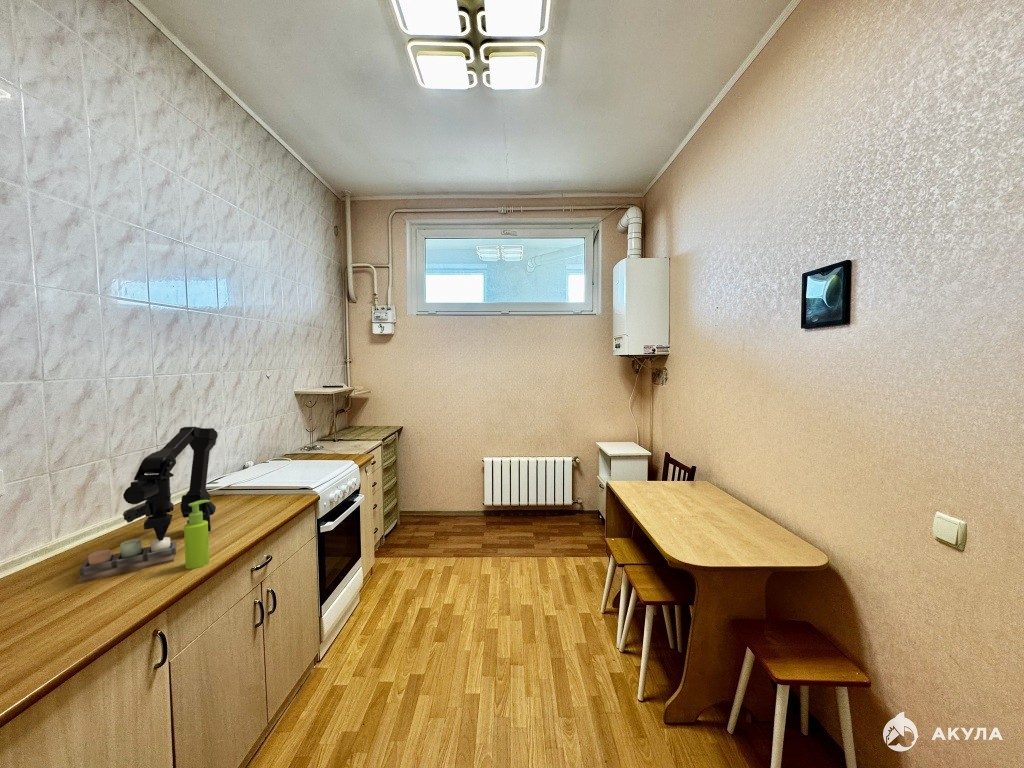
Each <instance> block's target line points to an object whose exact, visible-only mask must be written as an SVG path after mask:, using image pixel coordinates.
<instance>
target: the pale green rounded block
mask: <svg viewBox="0 0 1024 768" xmlns="http://www.w3.org/2000/svg"><path fill="white" fill-rule="evenodd" d="M142 544H143V543H142V538H133V539H128V540H126V541H123V542H121V543H120V553H121V557H122V558H128V557H133V556H136V555H138V554H140V553H142V548H143V547H142V546H143V545H142Z"/></svg>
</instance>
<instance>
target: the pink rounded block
mask: <svg viewBox="0 0 1024 768" xmlns="http://www.w3.org/2000/svg"><path fill="white" fill-rule="evenodd" d="M111 554H112V550H111V549H103V550H97V551H95V552H91V553H89V554H88V556H87V557H88V559H87V560H89V566H92V565H97V564H101V563H106V562H110V561H111Z"/></svg>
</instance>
